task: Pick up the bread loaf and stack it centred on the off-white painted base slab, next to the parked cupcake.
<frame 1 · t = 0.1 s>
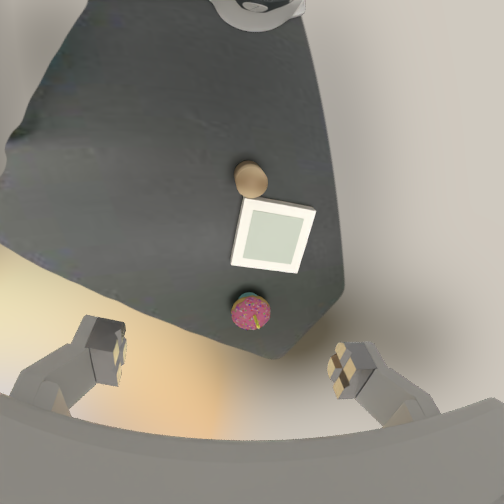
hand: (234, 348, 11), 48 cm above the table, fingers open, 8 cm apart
bread loaf: (247, 174, 56), on the table
cupcake: (248, 300, 69), on the table
base slab: (270, 233, 62), on the table
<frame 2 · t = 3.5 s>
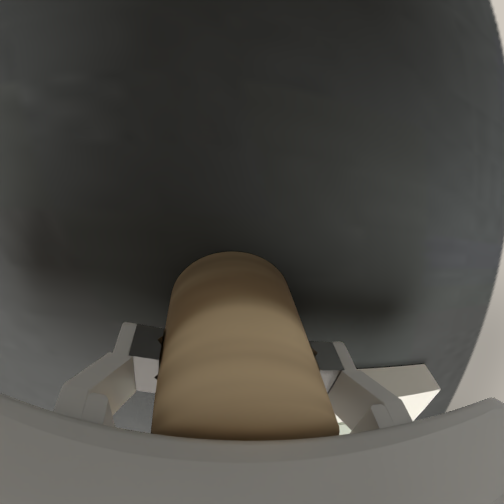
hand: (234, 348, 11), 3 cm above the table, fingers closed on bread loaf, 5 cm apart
bread loaf: (230, 305, 13), on the table, touching gripper
base slab: (302, 430, 19), on the table
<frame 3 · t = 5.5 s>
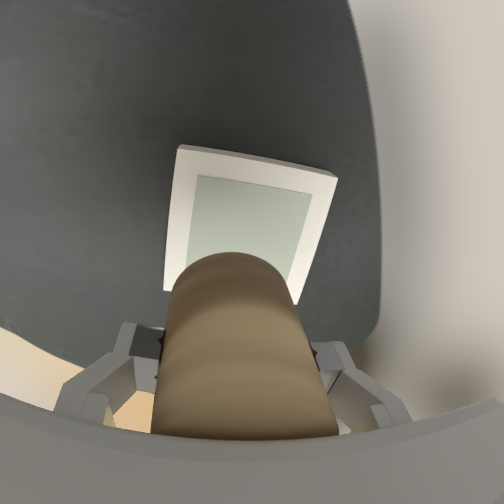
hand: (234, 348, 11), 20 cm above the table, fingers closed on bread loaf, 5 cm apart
bread loaf: (230, 305, 13), point 17 cm above the table, touching gripper
base slab: (243, 225, 30), on the table
when the fingers open (5 cm above the table, at t = 7.8 s): bread loaf stays where it is, resting on base slab.
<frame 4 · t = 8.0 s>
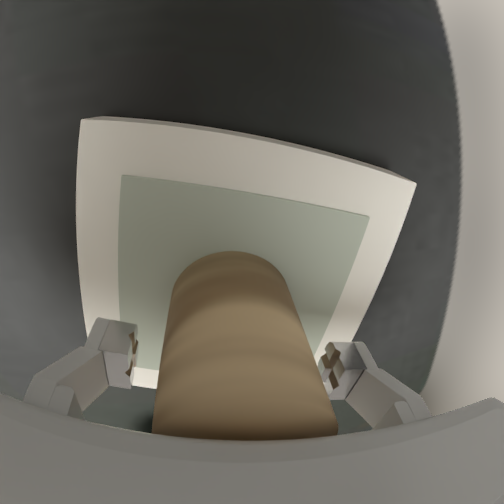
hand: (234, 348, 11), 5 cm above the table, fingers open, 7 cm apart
bread loaf: (230, 304, 13), point 3 cm above the table, touching base slab
base slab: (227, 273, 16), on the table
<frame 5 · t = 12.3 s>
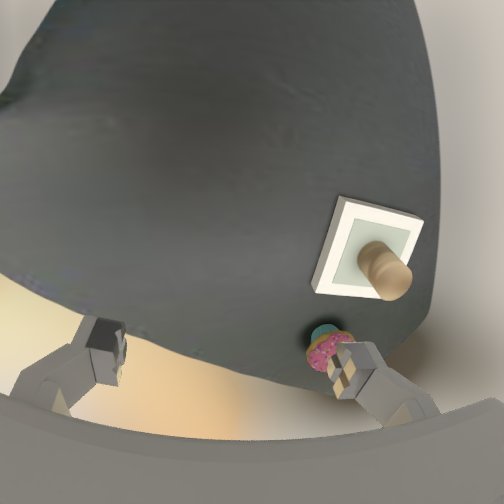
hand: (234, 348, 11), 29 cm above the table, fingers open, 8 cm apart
bread loaf: (373, 257, 41), point 3 cm above the table, touching base slab
cupcake: (324, 333, 51), on the table
base slab: (365, 248, 44), on the table
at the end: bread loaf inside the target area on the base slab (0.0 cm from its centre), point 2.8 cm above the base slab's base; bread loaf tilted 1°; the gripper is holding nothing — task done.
